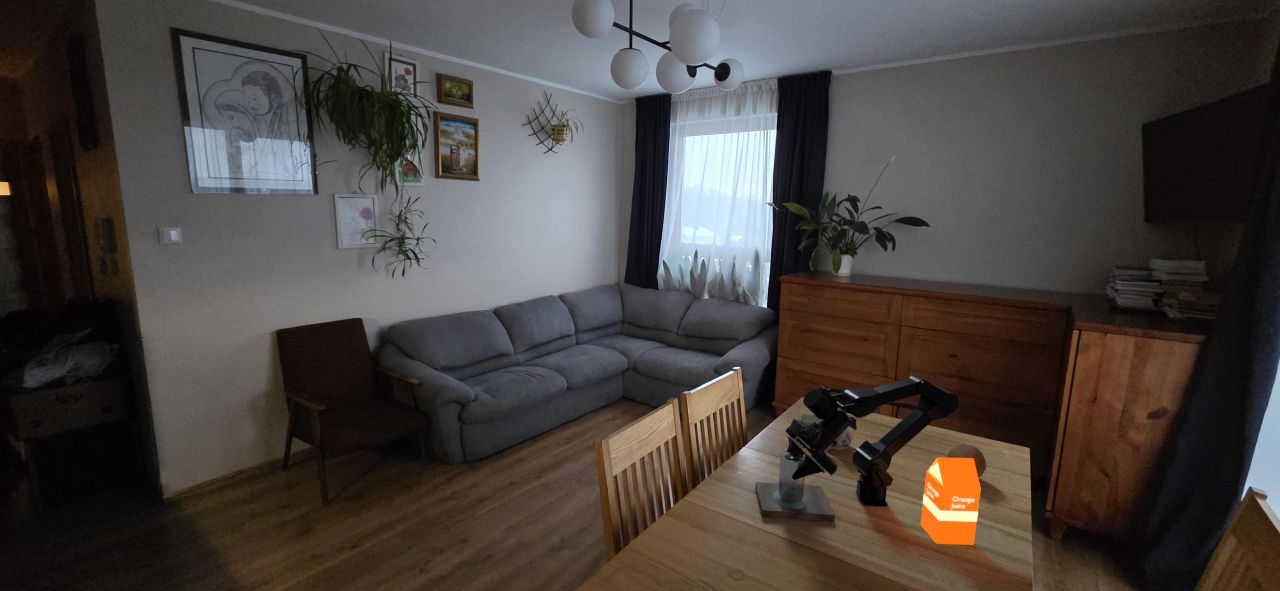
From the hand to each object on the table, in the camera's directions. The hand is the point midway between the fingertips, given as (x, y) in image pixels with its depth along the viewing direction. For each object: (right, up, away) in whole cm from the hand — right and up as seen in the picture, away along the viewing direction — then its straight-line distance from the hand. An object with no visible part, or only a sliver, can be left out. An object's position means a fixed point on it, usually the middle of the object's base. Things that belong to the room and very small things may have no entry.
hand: (787, 472), depth 135 cm
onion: (+58, -8, +18) cm, 61 cm away
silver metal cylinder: (+1, -6, +1) cm, 7 cm away
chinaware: (+24, -4, +40) cm, 47 cm away
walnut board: (+2, -10, +3) cm, 10 cm away
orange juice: (+36, -12, -10) cm, 39 cm away
